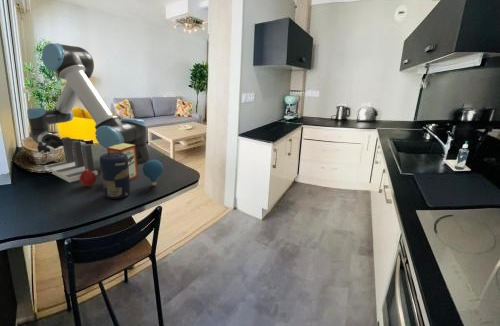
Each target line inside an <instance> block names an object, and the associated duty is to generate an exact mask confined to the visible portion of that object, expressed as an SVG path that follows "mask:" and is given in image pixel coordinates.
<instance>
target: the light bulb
mask: <svg viewBox="0 0 500 326" xmlns="http://www.w3.org/2000/svg"><path fill="white" fill-rule="evenodd" d="M142 172H143V174H144V176H145V177H147V178H149V180H150V181H151V186H157V180H158V178H159V177H161V176H162V175H163V173H164V166H163V163H162V162H161V161H159V160H158V159H154V158H153V159H150V160H148V161H146V162H144V163H143V166H142Z"/></svg>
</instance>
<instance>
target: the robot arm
mask: <svg viewBox="0 0 500 326" xmlns="http://www.w3.org/2000/svg"><path fill="white" fill-rule="evenodd" d="M41 59H42V63H43V65H44V66H45V67H46V69H48V70H49V71H52V72H55V73H56V74H57V75H58V76H59V78H60V79H62V80H65V81H66V82H65V84H64V87H63V88H62V91H61V93H60V95H59V98H58V100H57V102H56V104H55V107H54V108H53V109H51V110H50V109H49V110H46V109H45V108H44V107H29V108H27V110H26V114H27V119H28V122H29V126H30V132H29V134H28V135H29V136H28V137H29V138H30V137H32V138H33V140H34V141H35V142H36V143H35V142H34V141H33V142H34V143H35V144H37V143H38V145H37V146H36V148H37V152H38V153H41V152H43V154H46V153H50V154H53V155H56V149H58V148H59V147H63V142H62V137H59V135H57V134H54V133H52V132H50V128H49V127H50V126H49V125H54V124H55V125H56V124H62V123H63V124H64V123H67V122H71V121H72V120H73V118H74V114H73V108H74V106H75V105H76V102H77V100H78V99H79V101H80V102H81V104H82V105H83V106H84V108H85V110H86V111H87V112H88V114H89V115H90V116H91V118H92V119H93V121H94V122H95V125H94V128H95V139H96V141H97V143H98V144H100V146H101V147H103V148H105V149H107V148H108V147H111V146H114V145H118V144H122V143H127V144H133V145H136V157H137V164H141V163H140V162H142V163H146V162H147V161H148V160H152V159H151V158H152V156H151V153H150V150H149V148H148V144H147V132H146V131H147V129H146V128H147V127H146V126H147V125H146V123H145V120H144V119H141V118H133V117H132V118H131V117H130V118H129V117H122V118H121V119H120V118H119V116H117V115H113V113H112V112H111V110H110V108H109V107H108V105H107V104H106V102H105V101H104V100H103V98H102V96H101V95H100V93H99V91H98V90H97V89H96V88H95V86H94V84H92V82H91V80H90V78H91V77H92V75H93V73H94V69H95V61H94V59H93V56H92V55H91V54H90V52H88V50H86V49H85V48H83V47H80V46H74V45H67V44H62V43H61V44H60V43H57V42H56V43H54V42H53V43H51V42H50V43H47V44H46V45H44V47H43V49H42V52H41ZM76 140H78V141H80V142H81V148H82V145H84V144H87V143H86V142H85V140H84V139H81V138H80V139H78V138H71V141H76ZM71 144H72V143H71ZM145 161H146V162H145Z"/></svg>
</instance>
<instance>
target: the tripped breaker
mask: <svg viewBox="0 0 500 326" xmlns="http://www.w3.org/2000/svg"><path fill="white" fill-rule="evenodd" d="M61 139H62V142H63V146H62V148H63V152H64V158H65V161H67V162H74V155H73V149H72V144H71V139H72V138H71V137H69V136H65V137H61Z"/></svg>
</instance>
